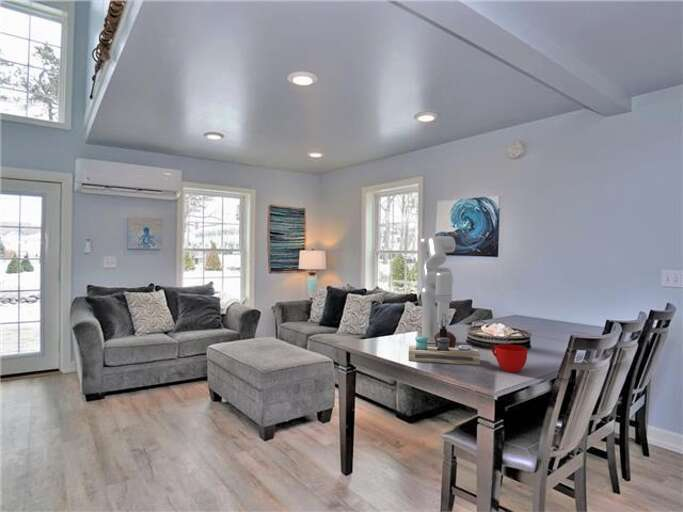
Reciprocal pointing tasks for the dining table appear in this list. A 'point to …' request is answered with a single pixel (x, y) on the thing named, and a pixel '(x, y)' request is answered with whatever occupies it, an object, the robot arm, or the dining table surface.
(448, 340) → the dark gray knob
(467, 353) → the box
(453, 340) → the muffin
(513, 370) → the ceramic cup
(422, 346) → the teal knob
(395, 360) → the dining table surface
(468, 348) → the steel knob
